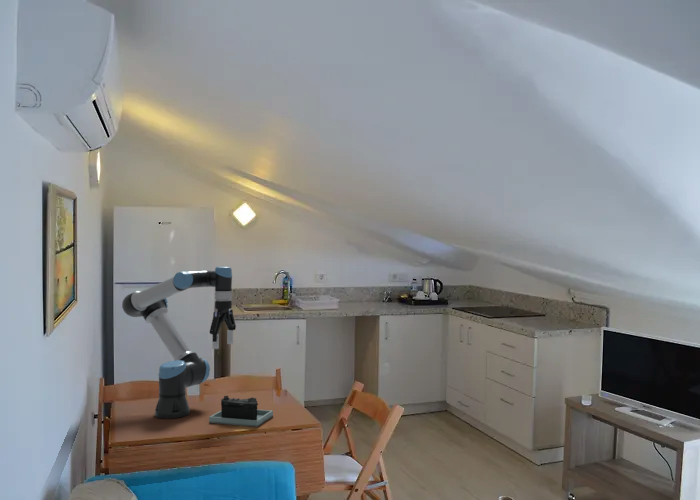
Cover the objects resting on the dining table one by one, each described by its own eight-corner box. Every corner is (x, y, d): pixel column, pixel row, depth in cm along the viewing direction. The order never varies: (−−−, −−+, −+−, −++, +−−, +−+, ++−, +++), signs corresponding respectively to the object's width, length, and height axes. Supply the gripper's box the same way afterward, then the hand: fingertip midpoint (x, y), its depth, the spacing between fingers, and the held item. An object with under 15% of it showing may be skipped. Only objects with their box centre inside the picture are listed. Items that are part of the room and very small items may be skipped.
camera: (264, 416, 261) (264, 394, 261) (255, 422, 252) (255, 399, 252) (228, 413, 266) (228, 391, 266) (218, 419, 257) (218, 396, 257)
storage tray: (209, 422, 255) (209, 416, 255) (227, 412, 270) (227, 407, 270) (257, 426, 248) (257, 420, 248) (272, 416, 264) (272, 410, 264)
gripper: (229, 297, 284) (228, 341, 284) (201, 302, 260) (201, 350, 261) (243, 298, 282) (242, 342, 282) (216, 302, 258) (216, 351, 258)
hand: (223, 346), depth 271 cm, fingers open, 13 cm apart
